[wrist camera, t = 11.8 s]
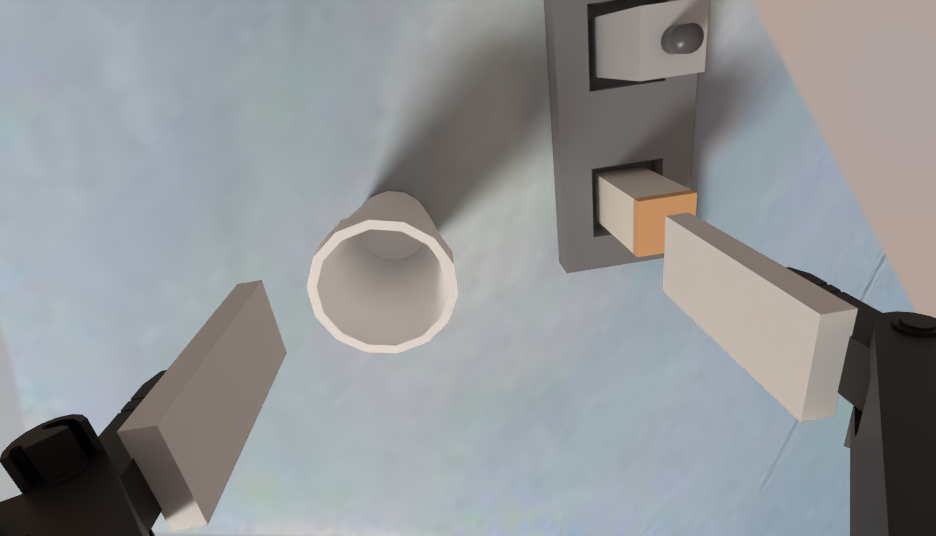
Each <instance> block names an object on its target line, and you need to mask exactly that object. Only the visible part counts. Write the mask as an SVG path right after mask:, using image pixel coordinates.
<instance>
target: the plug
mask: <svg viewBox="0 0 936 536" xmlns="http://www.w3.org/2000/svg"><path fill="white" fill-rule="evenodd" d="M595 190H596V220H597V221H598V222H599V223H600V224H601V225H602V226H603V227H605V228H606V229H607V230H608V231H609V232H610V233H611V234H612V235H613V236H615V237H616V238H617V239H618V240H619V241H620V242H621V243H622V244H623V245H624V246H626V247H627V248H628V249H629V250H630V251H631V252H632V253H633V254H634V255H635V256H637V257H642V256H649V255H655V254H662V253H664V249H665V220H666V216H669V215H675V214H681V213H688V212H689V213H691V214H692V215H694V216H696V206H697V192H695V191H693V190H691V189H689V188H686V187H684V186H682V185H680V184H678V183H676V182H674V181H672V180H670V179H668V178H666V177H663V176H661V175H659V174H657V173H655V172H653V171H651V170H649V169H647V168H645V167H637V168H630V169H623V170H617V171H610V172H603V173H596V174H595Z"/></svg>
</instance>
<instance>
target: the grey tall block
mask: <svg viewBox="0 0 936 536" xmlns="http://www.w3.org/2000/svg"><path fill="white" fill-rule="evenodd" d="M708 13H709V0H678V1H671V2H664V3H657V4H650V5H643V6H638V7H634V8H630V9H626V10H622V11H618V12H614V13H610V14H606V15H602V16H598V17H594V18H591V31H592V71H593V77H599V78H609V79H620V80H630V81H646V80H652V79H659V78H666V77H673V76H679V75H686V74H693V73H700V72H705V61H706V45H707V29H708Z"/></svg>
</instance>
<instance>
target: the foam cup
mask: <svg viewBox="0 0 936 536" xmlns="http://www.w3.org/2000/svg"><path fill="white" fill-rule="evenodd" d="M307 290H308V293H309V297H310V300H311V304H312V307H313V310H314V314H315V317H316V318H317V319H318V320H319V321H320V322H321V323H322V324H323V325H324V326H325V327H326V329H327V330H328V331H329V332H330V333H331V334H332V335H333V336H334V337H335V338H336V339H337V340H339V341H342V342H344V343H346V344H348V345H351V346H353V347H355V348H358V349H360V350H362V351H364V352H377V353H400V352H402V351H405V350H408V349H411V348H413V347H416V346H419V345H421V344H424V343H427V342H428V341H429V340H430V339H431V338H432V337H433V336H434V335H435V334H436V333H437V332H438V331H439V330H440V329H441V328H443V327H444V326H445V325H446V324H447V323H448V322H449V319H450V316H451V313H452V311H453V308H454V305H455V302H456V299H457V297H458V289H457V282H456V275H455V269H454V262H453V256H452V251H451V249H450V248H449V247H448V245H447V244H446V242H445V241H444V240H443V238H442V237H441V236H440V234H439V233H438V231H437V229H436V227H435V225H434V223H433V222H432V220H431V218H430V216H429V214H428V213H427V211H426V210H425V209H424V207H423V206H422V205H421V203H420V202H419V200H417V199H415V198H414V197H412V196H410V195H408V194H406V193H405V192H396V191H385V192H383V193H380V194H378V195H375V196H373V197H371V198H370V199H369V200H368V201H366V202H365V203H364V204H363V205H362V206H361V207H360V208H359V209H358V210H357V211H356V212H354V213H353V214H352V215H351V216H350V217H349V218H346V219H344V220H341V221H340V222H339V224H338V225H337V226H336V227H335V228H334V229H333V230H332V231H331V232H330V234H329V235H328V236H327V237H326V238H325V239H324V240H323V241H322V242H321V244H320V246H319V247H318V249H317V251H316V253H315V255H314V257H313V261H312V265H311V270H310V274H309V279H308V283H307Z"/></svg>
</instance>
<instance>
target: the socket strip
mask: <svg viewBox="0 0 936 536" xmlns="http://www.w3.org/2000/svg"><path fill="white" fill-rule="evenodd" d="M671 1H678V0H544V9H545V26H546V43H547V59H548V76H549V93H550V110H551V127H552V143H553V160H554V177H555V194H556V210H557V227H558V244H559V261H560V264H561V265H562V267H563V268H564V270H565V271H566V272H567V273H571V272H577V271H584V270H590V269H596V268H602V267H609V266H615V265H621V264H628V263H634V262H640V261H646V260H653V259H659V258H664V253H662V254H655V255H649V256H642V257H637V256H635V255H634V254H633V253H632V252H631V251H630V250H629V249H628V248H627V247H626V246H624V245H623V244H622V243H621V242H620V241H619V240H618V239H617V238H616V237H615V236H613V235H612V234H611V233H610V232H609V231H608V230H607V229H606V228H605V227H603V226H602V225H601V224H600V223H599V222H598V221H597V220H596V190H595V174H596V173H603V172H610V171H617V170H623V169H630V168H637V167H645V168H647V169H649V170H651V171H653V172H655V173H657V174H659V175H661V176H663V177H666V178H668V179H670V180H672V181H674V182H676V183H678V184H680V185H682V186H684V187H686V188H689V189H691V178H692V160H693V143H694V125H695V108H696V90H697V73H693V74H686V75H679V76H673V77H666V78H659V79H652V80H646V81H630V80H620V79H609V78H599V77H593V71H592V31H591V18H594V17H598V16H602V15H606V14H610V13H614V12H618V11H622V10H626V9H630V8H634V7H638V6H643V5H650V4H657V3H664V2H671Z"/></svg>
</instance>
